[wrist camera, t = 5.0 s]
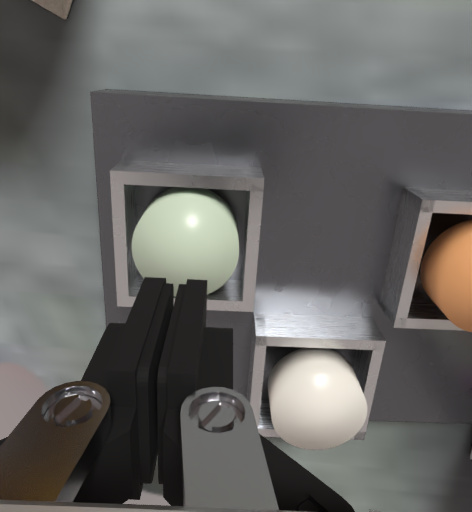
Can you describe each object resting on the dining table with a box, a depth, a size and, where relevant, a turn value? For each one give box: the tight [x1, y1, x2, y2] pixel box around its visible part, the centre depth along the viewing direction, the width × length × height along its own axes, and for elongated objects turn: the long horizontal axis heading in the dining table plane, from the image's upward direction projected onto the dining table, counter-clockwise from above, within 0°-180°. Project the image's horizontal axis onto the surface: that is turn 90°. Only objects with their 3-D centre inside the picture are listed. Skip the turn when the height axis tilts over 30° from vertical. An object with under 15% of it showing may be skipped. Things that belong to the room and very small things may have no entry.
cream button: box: [268, 348, 367, 450], centre depth 20 cm, size 4×4×2 cm
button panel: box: [90, 89, 472, 440], centre depth 21 cm, size 16×20×4 cm
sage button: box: [132, 187, 239, 297], centre depth 18 cm, size 4×4×2 cm
